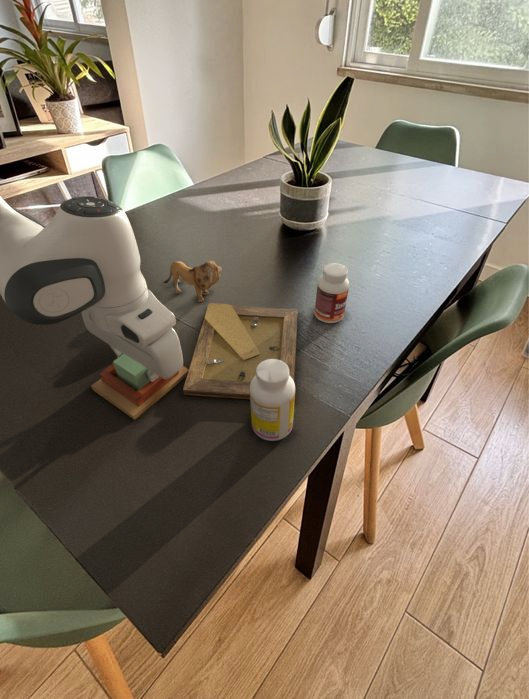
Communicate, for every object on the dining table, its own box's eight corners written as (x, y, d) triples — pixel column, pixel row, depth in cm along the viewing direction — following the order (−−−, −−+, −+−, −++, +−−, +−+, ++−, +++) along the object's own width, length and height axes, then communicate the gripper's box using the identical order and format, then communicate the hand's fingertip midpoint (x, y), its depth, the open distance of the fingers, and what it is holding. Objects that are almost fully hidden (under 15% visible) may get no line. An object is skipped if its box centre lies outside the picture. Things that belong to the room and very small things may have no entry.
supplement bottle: (279, 403, 72) (282, 348, 63) (300, 432, 67) (306, 377, 59) (244, 418, 69) (241, 363, 61) (263, 449, 65) (263, 394, 56)
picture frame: (209, 309, 90) (184, 395, 73) (208, 303, 89) (182, 388, 72) (297, 314, 89) (292, 403, 72) (297, 308, 88) (293, 396, 71)
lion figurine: (226, 293, 94) (224, 258, 88) (215, 307, 91) (212, 271, 85) (169, 278, 98) (163, 243, 92) (157, 291, 95) (149, 255, 89)
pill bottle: (337, 328, 86) (344, 282, 78) (309, 318, 88) (313, 273, 80) (348, 311, 90) (356, 266, 82) (321, 302, 92) (326, 258, 84)
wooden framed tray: (134, 420, 69) (130, 408, 67) (92, 389, 74) (87, 377, 72) (190, 373, 77) (188, 361, 75) (148, 348, 81) (145, 336, 79)
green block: (139, 392, 72) (134, 376, 69) (118, 377, 74) (112, 361, 71) (163, 373, 75) (159, 356, 72) (142, 359, 77) (137, 343, 74)
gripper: (60, 290, 66) (86, 354, 76) (150, 344, 58) (166, 408, 67) (94, 272, 70) (114, 335, 80) (183, 320, 61) (194, 384, 71)
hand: (139, 369), depth 73 cm, fingers closed on green block, 5 cm apart
